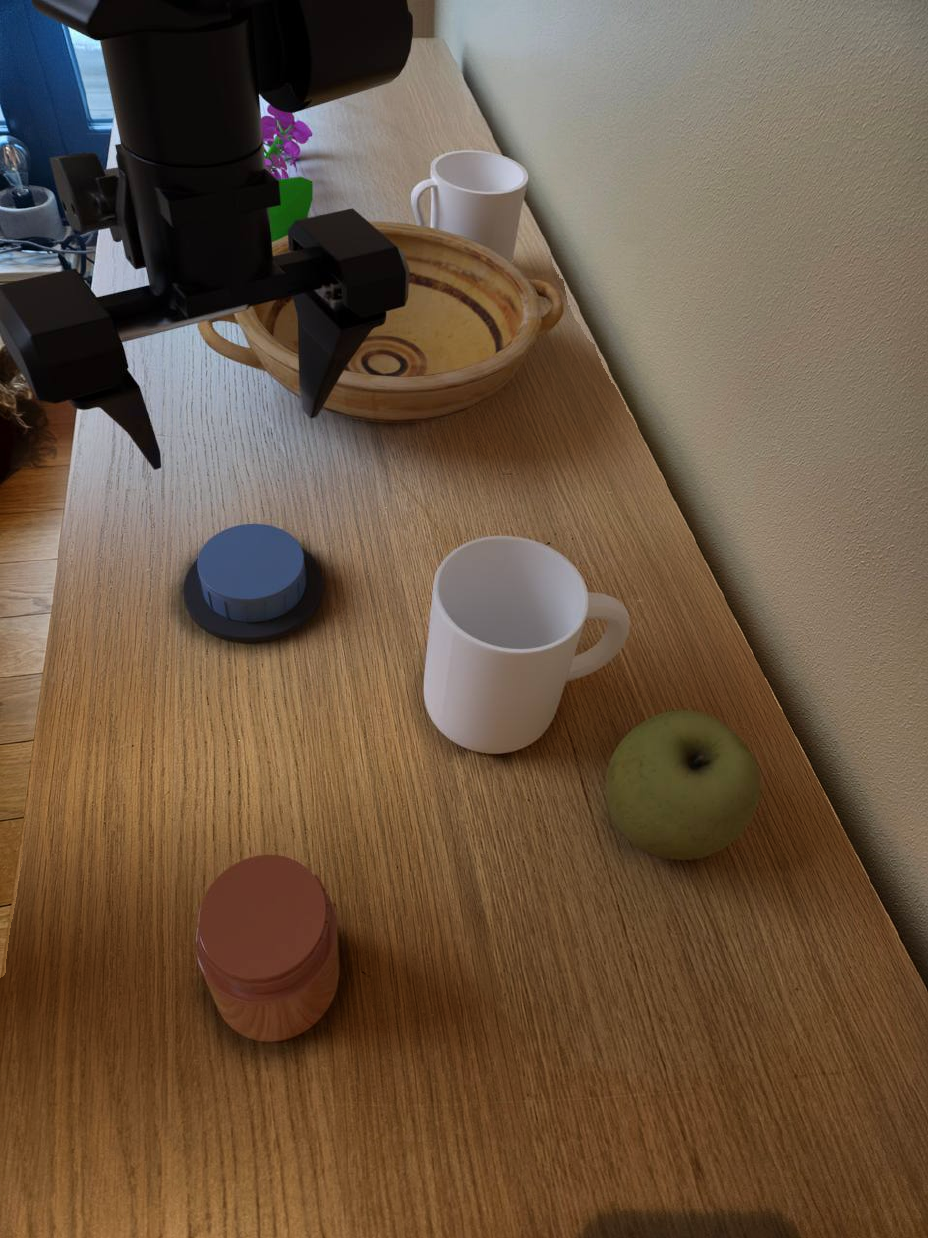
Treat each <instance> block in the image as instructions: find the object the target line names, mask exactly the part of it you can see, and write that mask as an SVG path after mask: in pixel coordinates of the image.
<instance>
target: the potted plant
mask: <svg viewBox="0 0 928 1238" xmlns="http://www.w3.org/2000/svg"><path fill="white" fill-rule="evenodd" d="M266 111H267V113H268V114H269V115H263V116H261V123H262V135H263V143H264V146H267V147H269V149H268V150H267V149H266V148H265V147H264V155H265V167H266V170H267V171H269V172H270V173H271V174H272V175H273V176H274V177H275V178H276V179H277V180H278V181H279V187H280V200H281V205H279V206H274V207H269V216H270V228H271V240H272V242H274V241H276V240H279V239H281V238H283V237H285V236H287V235H288V229H289V228H290V227H291V225H292V224H293V223H294V221H296V220H301V219H305V218H309V213H310V211H311V206H312V202H313V198H314V197H313V195H314V194H313V180H310V179H308V178H306V177H303V176H296V177H295V176H294V177H290V176H289V174H288V166H287V163H286V162H287V161H290V163H289V166H290V167H291V166H293V167H294V168H295V173H298V166H297V163H296V159H297V158H298V157H299V156H300V154H301V147H300V145H299V144H301V145H304V144H306V143H307V142H308V141H309V138H312V137H313V132H312V130H311V128H310V127H309V126H308V125H307V124H306V122H304V121H302V120H300V119H297V120H296V121H295V115H294V113H288V112H282V111H279V110H277V109H276V108H274V107H273V106H271V105H270V104H269V105H268V106H267V107H266ZM275 135H276V136H275ZM274 136H275V137H274ZM298 143H299V144H298ZM284 157H286V158H284ZM278 170H281V173H280V172H279V171H278Z"/></svg>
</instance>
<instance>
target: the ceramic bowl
mask: <svg viewBox="0 0 928 1238" xmlns="http://www.w3.org/2000/svg"><path fill="white" fill-rule="evenodd" d="M368 222H369V223H370V224H372V225H373V226H374V227H375V228H376V229H377V230H378V231H380V232H381V233H382V234H383V235H384V236H385V237H387V238H388V239H389V240H390V241H391V242H392V243H393V244H395V245H396V246H397V247H398V248H399V249H400V250H401V251H402V252H403V253H404V255H405V258H406V261H407V264H408V267H409V290H408V300H407V302H406V305H405V306H404V307H400V308H397V309H393V310H390V311H386V321H385V323H384V324H383V325H381V326H378V327H375V328H374V329H372V331H371V332H370V333H369V335H368V336H367V338H366V339H365V340H364V342H363V343H362V345H361V346H360V347H359V349H358V350H357V352H356V353H355V355H354V356H353V357H352V359H351V360H350V362H349V363H348V365H347V366H346V368H345V369H344V371H343V373H342V374H341V376H340V378H339V379H338V381H337V383H336V385H335V386H334V388H333V390H332V392H331V393H330V395H329V397H328V399H327V400H326V402H325V404H324V406H323V407H322V409H321V410H324V411H326V412H329V413H332V414H336V415H339V416H342V417H347V418H350V419H355V420H361V421H369V422H374V423H392V424H394V423H395V424H401V423H402V424H403V423H417V422H419V423H420V422H426V421H431V420H438V419H442V418H446V417H449V416H453V415H456V414H458V413H462V412H464V411H466V410H468V409H470V408H472V407H474V406H477V405H478V404H480V403H482V402H484V401H486V400H487V399H489V398H490V397H492V396H493V395H494V394H495V393H498V391H500V390H501V389H503V388H504V387H505V385H507V384H508V382H509V381H510V380H511V379H512V378H513V376H515V374H517V372H518V370H519V369H520V368H521V366H522V364H523V362H524V360H525V358H526V357H527V355H528V353H529V351H530V349H531V347H532V346H533V345H534V343H535V341H536V340H538V339H539V338H542V337H543V336H545V335H546V334H547V333H548V332H550V331H552V329H553V328H555V327H556V325H558V323H559V322H560V320H561V319H562V317H563V315H564V309H565V307H564V301H563V297H562V294H561V292H560V291H559V290H558V289H557V288H556V287H554V286H553V285H552V284H551V283H549V282H547V281H545V280H541V279H529V278H528V277H527V275H525V273H524V272H523V271H522V270H521V269H520V268H519V267H518V266H516V265H515V264H514V263H513V262H512V263H511V262H510V261H509V260H508V259H506V258H505V257H503V256H501V255H500V254H498V253H496V252H495V251H493V250H492V249H490V248H488V247H486V246H483V245H481V244H479V243H477V242H475V241H473V240H470V239H467V238H464V237H462V236H459V235H456V234H453V233H450V232H446V231H442V230H438V229H434V228H430V226H427V227H425V226H418V225H417V224H412V223H411V224H410V223H405V222H393V221H377V220H376V221H375V220H374V221H368ZM272 252H273V256H274V255H278V254H282V253H286V252H290V251H289V244H288V235H287V236H285V237H283V238H281V239H279V240H276V241H274V242H272ZM540 297H542V298H545V299H547V300H548V301H549V302H550V304H551V306H550V309H549V310H548V312H547V313H545V314H544V313H543V312H544V311H543V307H542V302H541V299H540ZM216 322H227V323H232V324H235V325H238V326H239V328H240V329H241V331H242V333H243V336H244V337H245V340H246V343H247V345H248V347H247V346H243V345H239V344H237V343H235V342H233V341H230V340H229V339H227V338H225V337H224V336H222V335H221V334H219V333H218V332H217V331H216V329H215V328H214V325H213V323H216ZM196 324H197V326H196V327H197V329H198V332H199V334H200V336H201V337H202V339H203V341H204V343H205V344H206V345H207V346H208V347H209V348H210V349H211V350H213V351H215V352H216V353H217V354H219V355H220V356H223V357H224V358H227V359H229V360H231V361H233V362H235V363H238V364H242V365H244V366H247V367H250V368H253V369H256V370H259V371H263V372H266V373H267V374H268V375H269V377H271V378H273V379H274V380H275V382H277V383H278V384H280V385H281V387H283V388H284V389H285V390H287V391H288V392H290V393H292V394H293V395H294V396H297V397H298V398H299V399H301V396H300V389H299V361H298V318H297V312H296V308H295V305H294V301H293V298H292V296H290V297H286V298H282V299H278V300H274V301H270V302H266V303H262V304H258V305H255V306H251V307H249V309H248V310H246V311H242V312H238V313H234V314H230V315H226V316H223V317H219V318H215V319H211V320H207V321H203V322H199V323H196Z"/></svg>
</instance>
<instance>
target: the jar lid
mask: <svg viewBox="0 0 928 1238" xmlns="http://www.w3.org/2000/svg"><path fill="white" fill-rule="evenodd" d="M302 548H303V547H302V546H301V544H300V543H299V542H298V540H297V539H296V538H295V537H294V536H293V535H292V534H290V533H289V532H287V531H286V530H283V529H281V528H279V527H277V526H274V525H269V524H264V523H244V524H238V525H234V526H230V527H227V528H225V529H223V530H221V531H220V532H219V531H218V533H216V534H214V535H213V536H212V537H210V538H209V539H208V540H207V541H206V542H205V543H204V544H203V546H202V548H201V549H200V552H199V554H198V557H197V559H198V562H197V567H198V573H199V577H198V579H199V584H200V588H201V593H202V595H204V598H205V600H206V602H207V603H208V605H209V606H210V608H211V609H213V610H214V611H215V612H217V613H218V614H220V615H222V616H224V617H226V618H228V619H231V620H235V621H240V622H261V621H266V620H270V619H273V618H276V617H278V616H280V615H283V614H284V613H286V612H288V611H289V610H290V609H291V608H293V607H294V606H295V605H296V604H297V603H298V601H299V600H301V597H302V595H303V593H304V589H305V586H307V583H306V568H305V565H304V554H303V550H302Z"/></svg>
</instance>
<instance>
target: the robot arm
mask: <svg viewBox="0 0 928 1238" xmlns="http://www.w3.org/2000/svg"><path fill="white" fill-rule="evenodd" d="M31 4H32V6H33V8H34V10H36V11H37V12H38V13H39V14H42V15H44V16H46V17H47V18H49V19H51V20H54V21H56V22H57V23H60V24H62V25H63V26H64V27H65V26H66V27H67V28H70V29H71V30H74V31H75V32H77V33H80V34H81V35H84V36H86V37H87V38H89V39H91V40H93V41H99V42H100V47H101V53H102V57H103V63H104V67H105V72H106V73H105V74H106V77H107V83H108V87H109V93H110V98H111V103H112V107H113V112H114V116H115V122H116V126H117V132H118V136H119V141H120V143H118V144H114V148H115V151H116V154H115V161H116V165H117V166H115V167H111V168H106V169H104V168H103V165H102V162H101V161H100V158H99V156H98V155H97V154H96V153H94V152H86V151H84V152H77V153H71V154H66V155H65V154H64V155H60V156H53V157H49V161H50V165H51V169H52V170H51V171H52V174H53V179H54V182H55V183H54V184H55V186H56V191H57V194H58V197H59V201H60V204H61V206H62V209H63V213H64V215H65V218H66V221H67V223H68V224H69V226H70V228H71V229H73V230H74V231H76V232H79V233H82V234H86V233H92V232H96V231H102V230H107V229H109V231H110V235H111V237H112V241H113V242H115V243H120V242H122V247H123V250H124V255H125V259H126V261H128V262H129V264H130V265H131V267H133V269H135V270H140V269H144V268H145V270H146V274H147V279H148V284H147V285H143V286H139V287H134V288H131V289H126V290H122V291H121V290H120V291H117V292H113V293H108V294H105V295H99V296H97V295H96V294H95V293H94V291H93V290H92V289H91V287H90V286H89V284H88V283H87V282H86V280H85V279H84V278H83V277H82V275H81V274H80V272H79V271H78V270H77V268H70V269H65V270H61V271H56V272H52V273H47V274H43V275H42V274H41V275H38V276H33V277H28V278H24V279H19V280H15V281H10V282H6V283H0V339H1V341H2V342H3V344H4V346H5V347H6V349H7V351H8V353H9V354H10V356H11V357H12V360H13V361H14V362H15V364H16V366H17V368H18V369H19V371H20V373H21V375H22V377H24V379H25V381H26V383H27V384H28V386H29V387H30V389H31V391H32V393H33V394H34V396H35V398H36V399H37V401H38V402H39V401H40V402H45V403H50V404H54V405H56V404H57V405H58V404H60V403H63V402H66V401H69V403H70V404H71V406H72V407H73V408H75V409H77V410H80V411H88V410H92V409H96V408H99V409H101V410H102V411H103V412H104V413H105V414H106V415H107V416H109V418H111V419H112V420H113V421H114V422H115V423H116V424H117V425H118V426H119V427H121V429H123V431H125V433H127V435H129V437H130V439H131V440H132V441H133V443H134V444H135V445H136V447H137V448H138V450H139V452H141V453H142V455H143V457H144V458H145V459H146V460H147V462H148V464H149V465H150V466H151V469H153V470H154V471H156V470H160V469H161V468H162V457H161V456H162V455H161V449H160V446H159V443H158V440H157V437H156V434H155V430H154V428H153V424H152V421H151V417H150V414H149V412H148V408H147V405H146V402H145V398H144V395H143V393H142V389H141V387H140V385H139V384H138V382H137V381H136V379H135V378H134V377H133V375H132V373H131V372H130V371H129V367H130V366H129V363H128V359H127V355H126V354H127V353H126V351H125V347H124V344H123V343H126V342H129V341H133V340H137V339H141V338H145V337H148V336H153V335H157V334H161V333H164V332H168V331H171V330H172V331H173V330H176V329H179V328H184V327H188V326H192V325H196V324H198V323H199V322H203V321H207V320H211V319H215V318H219V317H223V316H226V315H230V314H234V313H238V312H242V311H246V310H248V309H249V307H251V306H255V305H258V304H262V303H266V302H270V301H274V300H278V299H282V298H286V297H290V296H292V298H293V301H294V305H295V308H296V312H297V318H298V361H299V389H300V396H301V398H300V402H301V408H302V410H303V412H304V413H305V414H306V415H307V417H308V418H309V419H312V420H313V419H315V418H318V416H319V415H320V413H321V411H322V410H323V409H322V407H323V406H324V404H325V402H326V400H327V399H328V397H329V395H330V393H331V392H332V390H333V388H334V386H335V385H336V383H337V381H338V379H339V378H340V376H341V374H342V373H343V371H344V369H345V368H346V366H347V365H348V363H349V362H350V360H351V359H352V357H353V356H354V355H355V353H356V352H357V350H358V349H359V347H360V346H361V345H362V343H363V342H364V340H365V339H366V338H367V336H368V335H369V333H370V332H371V331H372V329H374V328H375V327H378V326H381V325H383V324H384V323H385V321H386V311H390V310H393V309H397V308H400V307H404V306H405V305H406V302H407V300H408V290H409V267H408V264H407V261H406V258H405V255H404V253H403V252H402V251H401V250H400V249H399V248H398V247H397V246H396V245H395V244H393V243H392V242H391V241H390V240H389V239H388V238H387V237H385V236H384V235H383V234H382V233H381V232H380V231H378V230H377V229H376V228H375V227H374V226H373V225H372V224H370V223H369V222H370V221H368V220H367V219H366V218H365V217H364V216H362V214H360V213H359V212H358V211H356V210H355V208H354V207H353V208H347V209H343V210H338V211H333V212H329V213H325V214H319V215H314V216H311V217H307V218H305V219H301V220H296V221H294V223H293V224H292V225H291V227H290V228H289V229H288V244H289V251H290V252H286V253H282V254H278V255H274V256H273V252H272V240H271V228H270V216H269V207H274V206H279V205H281V200H280V187H279V181H278V180H277V179H276V178H275V177H274V176H273V175H272V174H271V173H270V172H269V171H267V170H266V167H265V156H266V154H265V152H264V148H265V144H264V143H263V142H264V141H263V135H262V123H261V118H262V113H261V102H260V100H261V99H260V96H261V98H262V99H263V100H264V101H265V102H266V103H268V104H269V105H271V106H273V107H274V108H276V109H277V110H279V111H282V112H288V113H292V114H294V113H298V112H301V111H305V110H307V109H311V108H315V107H317V106H321V105H323V104H327V103H329V102H333V101H336V100H340V99H342V98H345V97H349V96H352V95H355V94H358V93H362V92H365V91H368V90H372V89H374V88H377V87H381V86H384V85H388V84H390V83H392V82H393V81H395V80H396V79H397V78H398V77H399V76H400V74H401V73H402V71H403V70H404V68H405V66H406V65H407V63H408V59H409V56H410V54H411V50H412V45H413V44H412V43H413V37H414V17H413V14H412V12H411V11H410V10H409V4H408V0H31Z"/></svg>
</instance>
